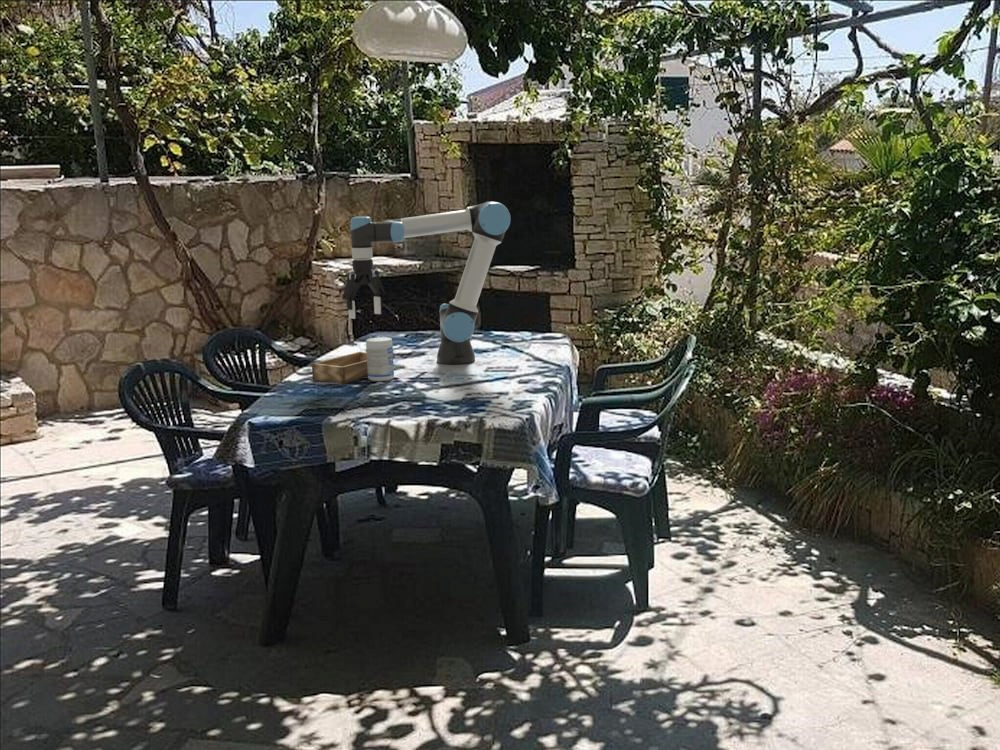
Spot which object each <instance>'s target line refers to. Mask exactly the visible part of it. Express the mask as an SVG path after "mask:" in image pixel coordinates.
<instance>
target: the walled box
mask: <svg viewBox="0 0 1000 750" xmlns="http://www.w3.org/2000/svg"><path fill="white" fill-rule="evenodd" d="M311 371H312V373H311V375H312V376H311V377H312V380H313V381H319V382H320V381H321V382H326V383H335V384H341V385H345V384H348V383H352V382H355V381H359V380H362V379H366V378H368V369H367V351H356V352H353V353H349V354H345V355H341V356H336V357H333V358H329V359H325V360H321V361H317V362H313V363H311Z"/></svg>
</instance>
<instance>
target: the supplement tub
mask: <svg viewBox="0 0 1000 750" xmlns="http://www.w3.org/2000/svg"><path fill="white" fill-rule="evenodd" d="M365 344H366V345H365V346H366V347H365V349H366V351H365V352H367V369H368V377H367V379H368V380H369V381H372V382H384V381H385V382H386V381H390V380H392V379H394V378H395V371H394V370H395V369H394V368H395V367H394V348H393V339H392V338H391V337H386V336H385V337H383V336H382V337H381V336H380V337H370V338H366V341H365Z"/></svg>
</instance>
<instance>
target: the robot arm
mask: <svg viewBox="0 0 1000 750" xmlns="http://www.w3.org/2000/svg"><path fill="white" fill-rule="evenodd" d="M511 221H512V220H511V213H510V212H509V209H508V208H507V207H506V205H504V204H503V203H501V202H498V201H485V202H483V203H479V204H475V205H472V206H471V205H470V206H467V207H466V208H465V209H462V210H454V211H453V210H452V211H447V212H440V213H432V214H431V213H430V214H426V215H417V216H410V217H403V218H402V217H401V218H396V219H395V218H393V219H384V220H382V221H372V218H371V217H370V216H353V217H352V218H351V219H350V241H351V244H350V245H351V258H352V260H351V261H352V270H353V272H354V273H348V274H347V280H346V284H345V287H344V291H343V293H342V297H341V298H342V299H341V300H344V301H346V308H347V310H348V319H353V320H355V319H356V318H357V317H356V304H355V303H356V302H355V300H354V298H355V297H356V295H357V293H358V291H359V289H360V287H361V286H363V285H367V286H368V287H369V288H370V291H372V293H373V294H374V296H373V308H374V309H373V310H374V314H375V315H382V297H384V295H385V294H386V291H385V288H384V286H383V283H382V280H381V278H380V275H379V271H378V270H373V269H374V260H373V256H374V255H373V253H374V252H373V243H374V244H375V243H401V242H404V241H405V239H406V238H408V239H409V238H416V237H421V236H422V237H423V236H429V235H430V236H431V235H437V234H444V233H451V232H452V233H454V232H461V231H467V230H468V231H469V232H470V233H471V232H472V235H473V237H474V239H473V242H472V245H471V247H470V251H469V254H468V258H467V260H466V263H465V266H464V269H463V273H462V275H461V278H460V282H459V284H458V287H457V291H456V294H455V296H454V298H453V299H452V300H450V301H449V302H448V303H441V305H440V306H439V323H440V325H439V326H440V327H439V328H440V330H439V331H440V344H439V346H438V347H439V348H438V352H437V355H436V361H437V363H439V364H446V365H463V364H470V363H473V362H475V360H476V355H475V352H474V349H473V346H472V344H471V337H472V336H473V334H474V331H475V322H476V320H477V318H478V317H477V316H478V314H479V309H478V307H477V304H478V302H479V298H480V296H481V293H482V290H483V286H484V284H485V281H486V278H487V275H488V272H489V269H490V265H491V264H492V263H491V262H492V260H493V256H494V254H495V251H496V247H497V246H498V245H500V244H501V243H502V242H503V239H504V237H505V233H506V231H507V230H508V229H509V228H510V224H511Z"/></svg>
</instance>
